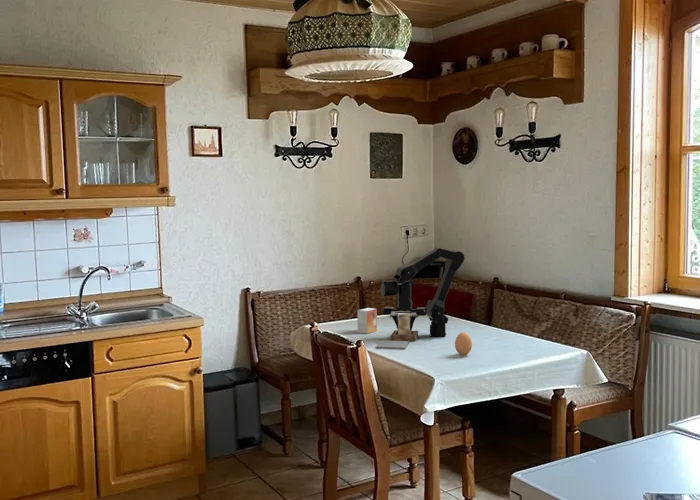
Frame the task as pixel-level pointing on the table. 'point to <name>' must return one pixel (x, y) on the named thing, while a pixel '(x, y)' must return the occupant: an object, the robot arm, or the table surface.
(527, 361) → the table surface
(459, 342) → the egg
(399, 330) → the birch block
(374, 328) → the small box
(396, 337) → the walnut holder
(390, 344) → the slate mat
